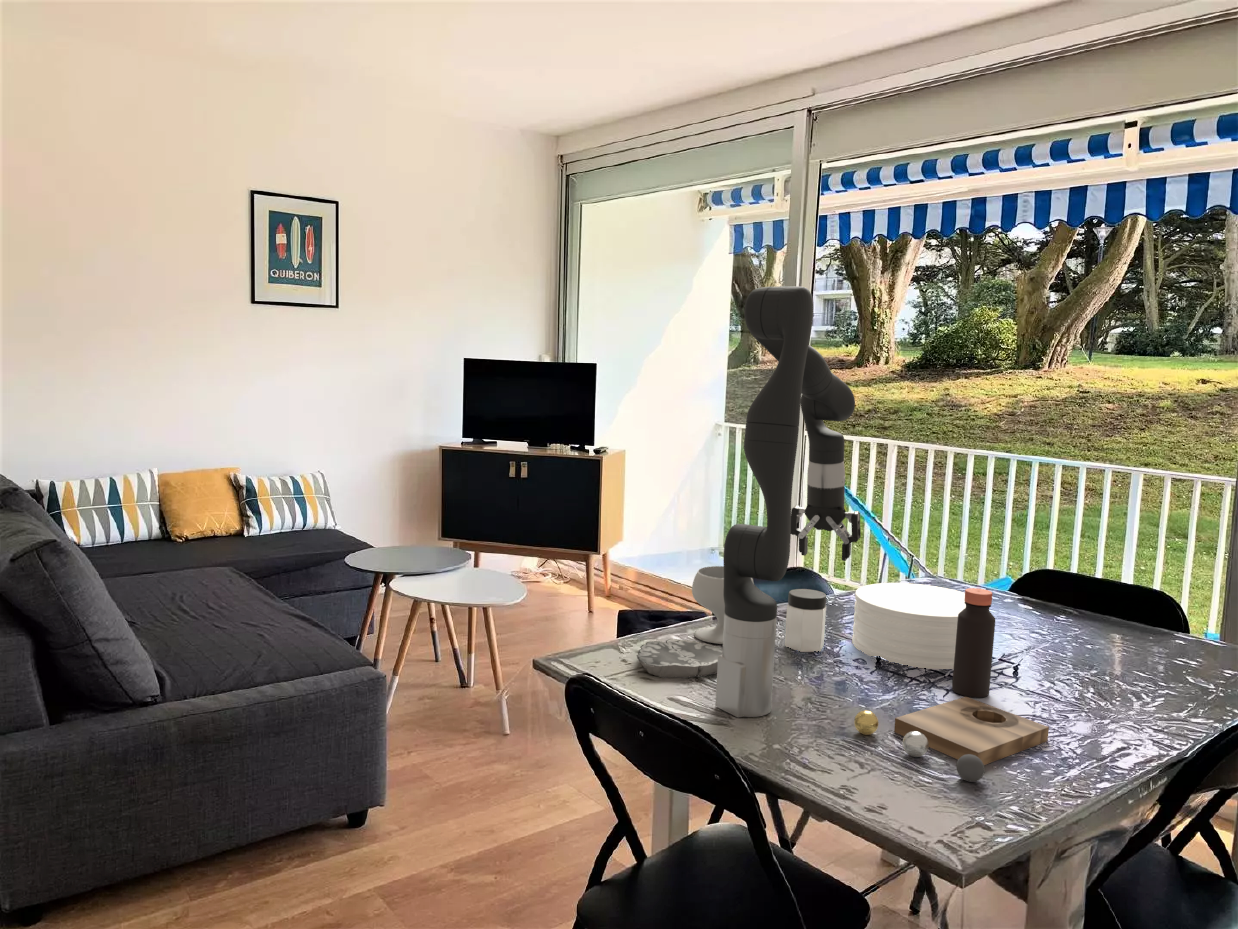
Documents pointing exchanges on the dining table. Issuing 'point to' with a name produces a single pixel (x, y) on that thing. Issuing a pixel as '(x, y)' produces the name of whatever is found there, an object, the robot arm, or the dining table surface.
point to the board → (973, 729)
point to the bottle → (974, 645)
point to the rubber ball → (970, 768)
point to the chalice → (710, 600)
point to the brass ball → (866, 722)
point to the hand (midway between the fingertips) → (824, 557)
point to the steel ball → (915, 744)
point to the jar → (805, 620)
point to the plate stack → (908, 623)
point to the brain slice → (679, 658)
